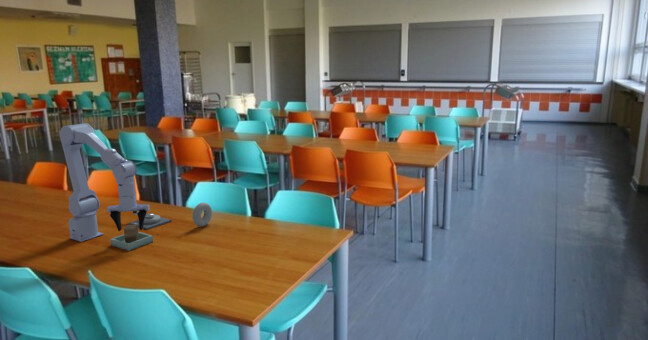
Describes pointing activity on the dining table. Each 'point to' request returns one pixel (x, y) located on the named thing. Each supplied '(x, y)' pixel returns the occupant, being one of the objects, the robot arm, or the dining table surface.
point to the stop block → (131, 233)
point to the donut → (197, 214)
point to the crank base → (163, 221)
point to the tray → (122, 244)
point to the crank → (149, 215)
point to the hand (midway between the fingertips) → (130, 229)
